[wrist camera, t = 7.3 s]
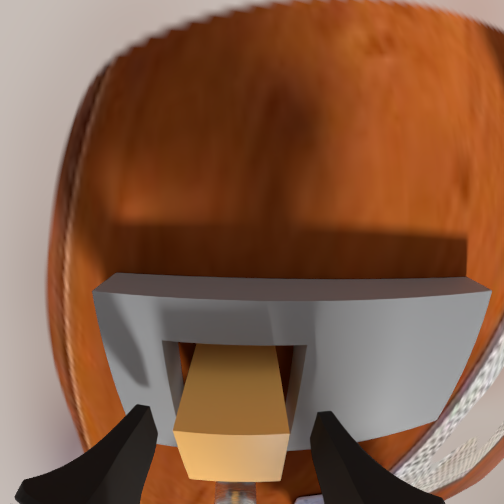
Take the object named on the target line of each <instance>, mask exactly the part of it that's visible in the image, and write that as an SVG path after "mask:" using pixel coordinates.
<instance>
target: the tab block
mask: <svg viewBox="0 0 504 504" xmlns="http://www.w3.org/2000/svg"><path fill="white" fill-rule="evenodd" d="M173 433H174V436H175V439H176V442H177V445H178V448H179V451H180V454H181V457H182V460H183V463H184V465H185V468H186V471H187V473H188V476H189V478H190V479H197V480H209V481H225V482H268V481H281V476H282V471H283V466H284V462H285V457H286V451H287V446H288V441H289V435H290V432H289V426H288V419H287V413H286V407H285V401H284V395H283V389H282V383H281V377H280V371H279V365H278V359H277V353H276V347H275V346H263V345H222V344H202V343H197V344H196V347H195V351H194V354H193V358H192V361H191V365H190V368H189V372H188V376H187V379H186V383H185V386H184V390H183V394H182V397H181V401H180V405H179V408H178V412H177V416H176V420H175V423H174V427H173Z"/></svg>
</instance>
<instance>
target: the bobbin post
mask: <svg viewBox="0 0 504 504" xmlns="http://www.w3.org/2000/svg"><path fill="white" fill-rule="evenodd" d="M214 504H256V482H225V481H216V488H215V501H214Z"/></svg>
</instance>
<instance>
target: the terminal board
mask: <svg viewBox="0 0 504 504" xmlns="http://www.w3.org/2000/svg"><path fill="white" fill-rule="evenodd" d="M92 293H93V299H94V304H95V309H96V314H97V319H98V324H99V328H100V332H101V336H102V341H103V345H104V348H105V352H106V356H107V359H108V363H109V366H110V370H111V373H112V376H113V379H114V382H115V385H116V388H117V391H118V394H119V397H120V400H121V403H122V405H123V408H124V411H125V413H126V415H127V414H128V413H129V412H130V410H131V409H132V408H133V407H134V406H135V405H136V404H140V405H146V406H150V409H151V412H152V415H153V419H154V422H155V425H156V428H157V431H158V437H157V443H156V444H162V445H168V446H175V447H178V445H177V442H176V439H175V436H174V433H173V427H174V423H175V420H176V416H177V412H178V408H179V405H180V401H181V397H182V394H183V390H184V383H183V377H182V369H181V362H180V354H179V346H178V342H188V343H202V344H222V345H263V346H275V345H294V349H293V357H292V364H291V372H290V379H289V385H288V392H287V398H286V405H285V407H286V413H287V419H288V426H289V432H290V435H289V441H288V446H287V451H294V450H306V449H311V445H310V436H311V432H312V429H313V426H314V422H315V419H316V415H317V412H322V411H332V412H333V413H334V415H335V416H336V417H337V419H338V420H339V421H340V423H341V424H342V425H343V427H344V428H345V429H346V430H347V432H348V433H349V434H350V435H351V436H352V438H353V439H354V440H355V441H356V442H360V441H365V440H369V439H374V438H378V437H382V436H386V435H390V434H394V433H398V432H401V431H405V430H408V429H411V428H414V427H418V426H421V425H424V424H426V423H429V422H432V421H435V420H437V418H438V417H439V415H440V413H441V412H442V410H443V408H444V406H445V405H446V403H447V401H448V399H449V398H450V396H451V394H452V392H453V390H454V388H455V386H456V384H457V382H458V380H459V378H460V376H461V374H462V372H463V370H464V368H465V365H466V363H467V361H468V359H469V356H470V354H471V351H472V349H473V347H474V344H475V341H476V339H477V336H478V333H479V331H480V328H481V325H482V322H483V319H484V316H485V313H486V310H487V307H488V303H489V300H490V296H491V293H492V290H490V289H488V288H486V287H485V286H483V285H481V284H479V283H477V282H475V281H474V280H472V279H470V278H468V277H447V278H409V279H269V278H227V277H198V276H173V275H152V274H133V273H115V274H114V275H112V276H111V277H110V278H108V279H107V280H106V281H104V282H103V283H102V284H101V285H99V286H98V287H97V288H95V289H94V290H93V291H92Z"/></svg>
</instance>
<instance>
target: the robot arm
mask: <svg viewBox="0 0 504 504" xmlns="http://www.w3.org/2000/svg"><path fill="white" fill-rule="evenodd" d="M157 437H158V431H157V428H156V425H155V422H154V419H153V415H152V412H151V409H150V406H146V405H140V404H136V405H135V406H134V407H133V408H132V409H131V410H130V412H129V413H128V414H127V415H126V416H125V417H124V418H123V419H122V420H121V421H120V422H119V423H118V424H117V425H116V426H115V427H114V428H113V429H112V430H111V431H110V432H109V433H108V434H107V435H106V436H105V437H104V438H103V439H102V440H100V441H99V442H98V443H97V444H96V445H95V446H93V447H92V448H91V449H89V450H88V451H87V452H85V453H84V454H83V455H81V456H80V457H78V458H76V459H75V460H73V461H71V462H70V463H68V464H66V465H64V466H62V467H60V468H58V469H55V470H53V471H51V472H48V473H46V474H43V475H40V476H37V477H33V478H29V479H25V480H24V481H23V482H22V484H21V486H20V487H19V489H18V491H17V493H16V495H15V500H16V501H17V502H19V503H20V504H140V499H141V494H142V490H143V486H144V483H145V480H146V477H147V474H148V471H149V468H150V465H151V462H152V459H153V456H154V453H155V448H156V443H157ZM310 445H311V453H312V459H313V462H314V466H315V470H316V473H317V477H318V481H319V484H320V488H321V491H322V494H321V495H314V496H306V497H300V498H297V499H296V501H295V503H294V504H445V502H444V500H443V499H442V498H441V497H438V496H435V495H432V494H429V493H426V492H424V491H422V490H420V489H417V488H415V487H413V486H411V485H410V484H408V483H406V482H404V481H403V480H401V479H399V478H397V477H396V476H394V475H393V474H392V473H390V472H389V471H387V470H386V469H385V468H383V467H382V466H381V465H380V464H378V463H377V462H376V461H375V460H374V459H373V458H372V457H371V456H370V455H369V454H367V453H366V452H365V451H364V450H363V448H362V447H361V446H360V445H359V444H358V443H357V442H356V441H355V440H354V439H353V438H352V436H351V435H350V434H349V433H348V432H347V430H346V429H345V428H344V427H343V425H342V424H341V423H340V421H339V420H338V419H337V417H336V416H335V415H334V413H333V412H332V411H322V412H317V415H316V419H315V422H314V426H313V429H312V432H311V436H310Z"/></svg>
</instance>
